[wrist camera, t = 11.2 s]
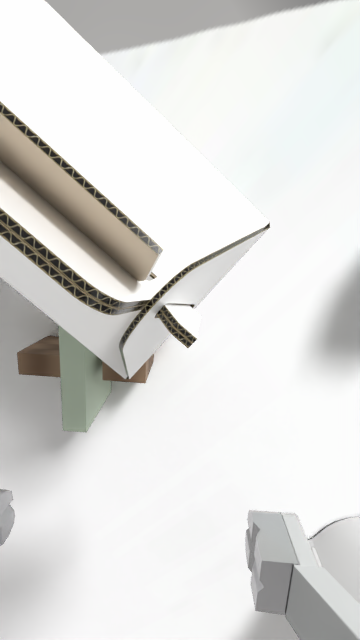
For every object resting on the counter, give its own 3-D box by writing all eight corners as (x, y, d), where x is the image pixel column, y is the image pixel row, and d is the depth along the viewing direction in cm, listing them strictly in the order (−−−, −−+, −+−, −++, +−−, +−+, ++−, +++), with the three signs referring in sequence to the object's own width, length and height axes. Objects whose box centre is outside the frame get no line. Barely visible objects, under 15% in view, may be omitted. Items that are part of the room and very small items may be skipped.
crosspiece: (111, 391, 37) (86, 432, 29) (93, 390, 37) (62, 430, 29) (111, 304, 35) (84, 320, 26) (91, 303, 35) (57, 318, 26)
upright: (154, 343, 36) (145, 361, 29) (153, 361, 36) (145, 383, 30) (47, 336, 36) (17, 352, 30) (48, 354, 37) (18, 374, 30)
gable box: (231, 242, 33) (441, 167, 5) (159, 323, 35) (49, 551, 8) (84, 103, 30) (-1011, -1479, 3) (17, 200, 32) (-892, -99, 5)
